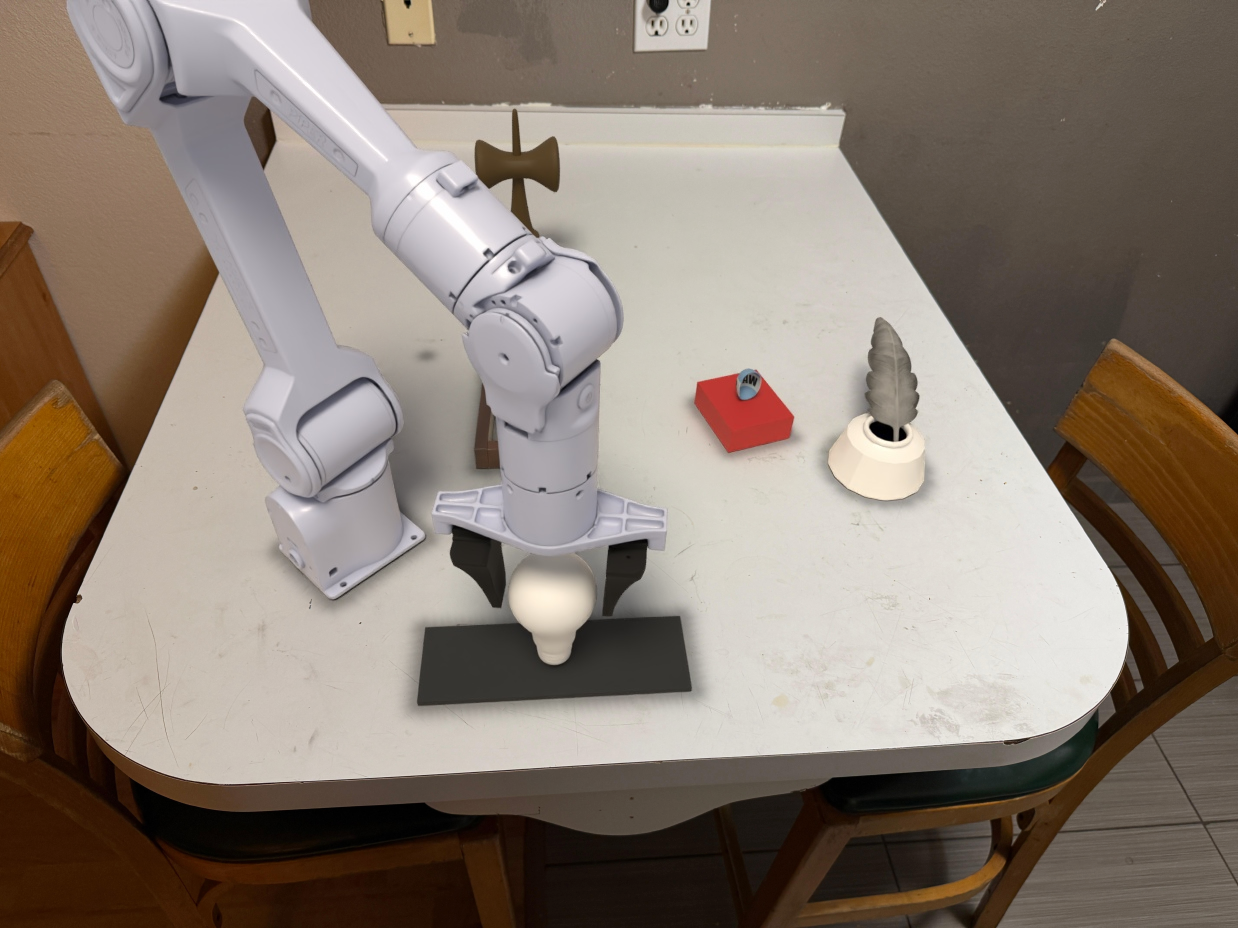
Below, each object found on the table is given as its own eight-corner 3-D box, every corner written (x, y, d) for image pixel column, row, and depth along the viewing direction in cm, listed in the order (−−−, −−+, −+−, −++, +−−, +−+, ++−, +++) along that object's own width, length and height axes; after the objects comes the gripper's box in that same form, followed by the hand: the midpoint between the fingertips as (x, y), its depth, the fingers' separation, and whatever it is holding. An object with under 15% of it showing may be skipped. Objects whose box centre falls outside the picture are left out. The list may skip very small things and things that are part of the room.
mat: (417, 705, 59) (416, 702, 58) (425, 630, 63) (424, 626, 63) (691, 691, 60) (691, 687, 60) (679, 619, 65) (680, 615, 65)
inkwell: (834, 499, 75) (860, 417, 69) (809, 380, 88) (828, 301, 82) (934, 504, 75) (970, 423, 69) (894, 384, 88) (920, 306, 82)
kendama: (562, 282, 101) (560, 118, 87) (484, 284, 100) (470, 119, 86) (559, 257, 105) (556, 98, 92) (483, 260, 104) (470, 99, 90)
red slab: (694, 403, 85) (700, 353, 81) (752, 390, 87) (761, 341, 82) (728, 452, 80) (737, 402, 75) (789, 438, 81) (801, 388, 77)
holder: (476, 468, 77) (473, 449, 75) (489, 357, 89) (487, 338, 88) (576, 468, 77) (576, 448, 76) (574, 357, 90) (574, 338, 88)
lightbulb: (506, 633, 63) (496, 540, 55) (581, 614, 64) (582, 521, 57) (524, 701, 59) (517, 610, 51) (605, 679, 60) (609, 588, 53)
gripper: (674, 423, 50) (658, 563, 60) (440, 406, 50) (462, 548, 60) (672, 506, 45) (655, 645, 54) (412, 486, 45) (440, 628, 55)
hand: (553, 600), depth 57 cm, fingers open, 7 cm apart
